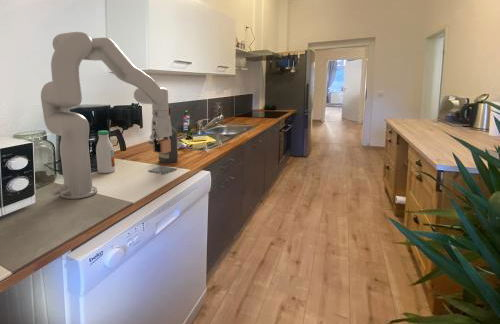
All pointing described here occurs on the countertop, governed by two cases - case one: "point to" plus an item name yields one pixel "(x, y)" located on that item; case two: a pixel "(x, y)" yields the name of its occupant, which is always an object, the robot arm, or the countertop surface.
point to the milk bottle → (105, 153)
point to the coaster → (162, 169)
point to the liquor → (173, 154)
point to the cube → (164, 145)
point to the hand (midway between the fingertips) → (162, 150)
